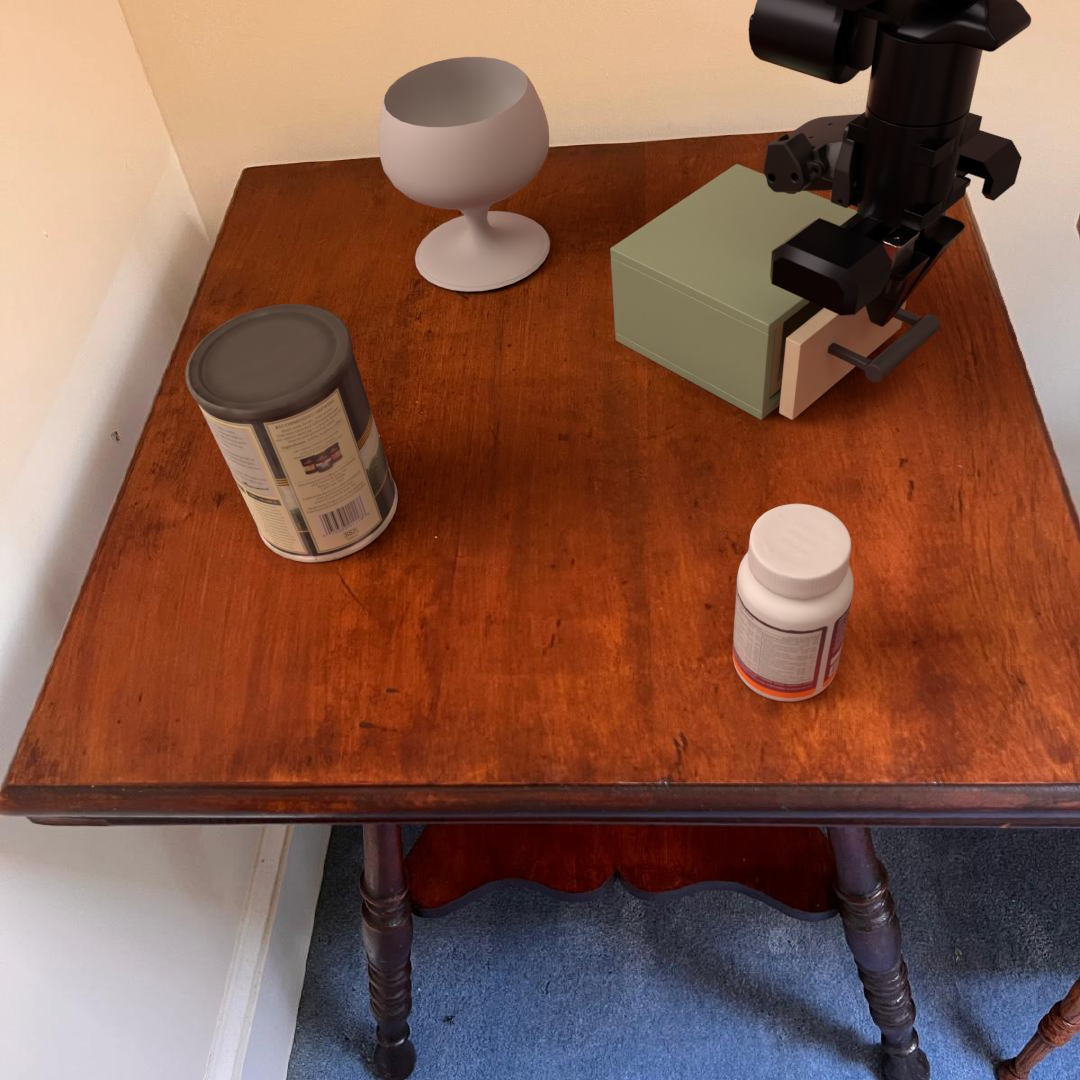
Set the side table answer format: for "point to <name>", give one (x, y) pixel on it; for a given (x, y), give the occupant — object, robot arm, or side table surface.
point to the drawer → (837, 351)
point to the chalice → (468, 166)
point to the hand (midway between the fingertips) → (879, 322)
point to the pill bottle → (792, 602)
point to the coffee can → (296, 429)
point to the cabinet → (714, 284)
